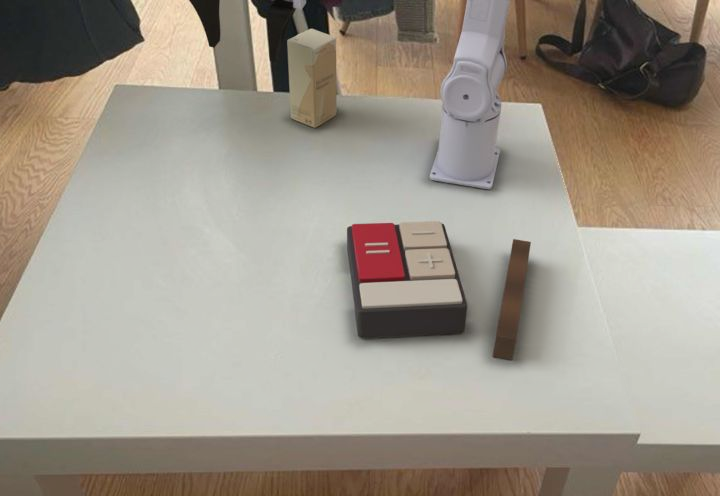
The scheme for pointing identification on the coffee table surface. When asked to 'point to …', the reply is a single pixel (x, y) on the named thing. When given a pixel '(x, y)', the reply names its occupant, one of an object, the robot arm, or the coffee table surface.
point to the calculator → (404, 280)
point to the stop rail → (512, 300)
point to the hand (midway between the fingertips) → (244, 50)
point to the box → (312, 77)
